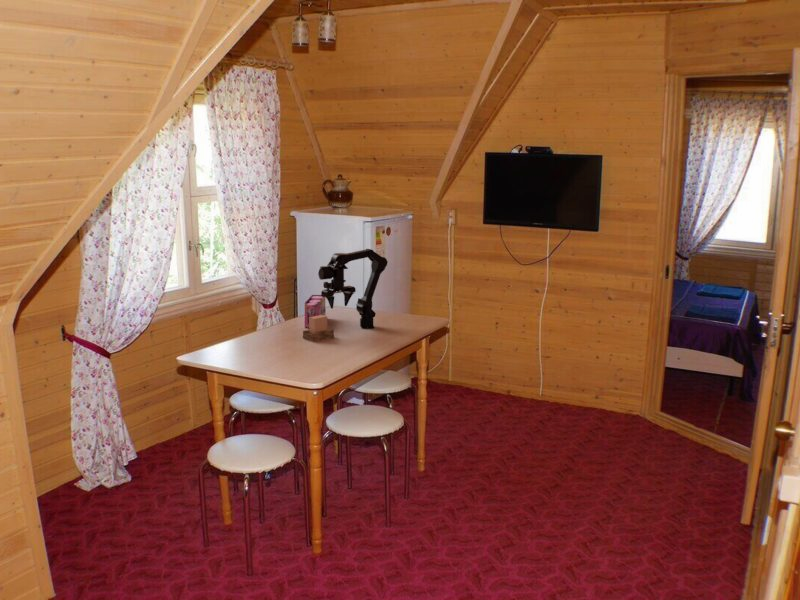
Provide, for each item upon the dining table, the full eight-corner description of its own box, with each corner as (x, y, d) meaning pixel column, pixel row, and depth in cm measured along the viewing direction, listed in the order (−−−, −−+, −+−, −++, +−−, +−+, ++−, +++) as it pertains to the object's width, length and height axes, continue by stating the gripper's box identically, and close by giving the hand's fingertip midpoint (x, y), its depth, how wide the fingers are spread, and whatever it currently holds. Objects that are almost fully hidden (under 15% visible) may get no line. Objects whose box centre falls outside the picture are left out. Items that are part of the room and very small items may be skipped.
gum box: (318, 328, 393) (317, 304, 390) (303, 328, 394) (303, 303, 391) (326, 318, 416) (325, 294, 414) (312, 318, 417) (311, 294, 414)
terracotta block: (322, 333, 379) (321, 314, 377) (327, 335, 376) (327, 316, 374) (309, 336, 374) (309, 317, 371) (314, 338, 370) (314, 318, 368)
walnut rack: (323, 333, 382) (323, 326, 382) (334, 337, 376) (333, 329, 375) (302, 338, 374) (302, 330, 373) (313, 341, 367) (313, 334, 366)
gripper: (342, 273, 394) (343, 302, 397) (314, 277, 381) (315, 307, 385) (356, 276, 386) (356, 305, 389) (327, 280, 373) (328, 310, 377)
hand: (338, 307), depth 385 cm, fingers open, 9 cm apart
